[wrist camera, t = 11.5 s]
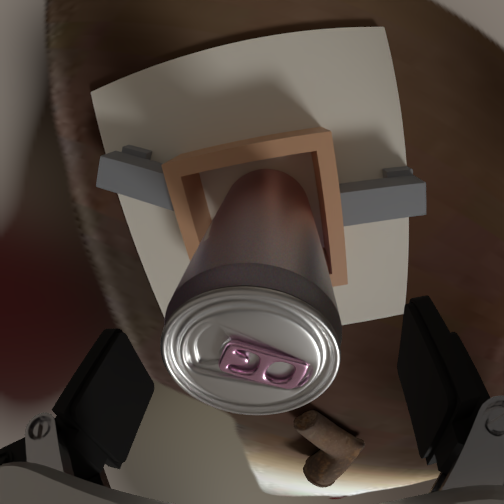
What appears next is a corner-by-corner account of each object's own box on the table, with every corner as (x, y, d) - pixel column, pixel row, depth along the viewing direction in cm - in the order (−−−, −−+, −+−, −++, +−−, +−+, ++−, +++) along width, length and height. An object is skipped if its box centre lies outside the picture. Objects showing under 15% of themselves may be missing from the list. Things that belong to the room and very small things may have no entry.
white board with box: (380, 29, 16) (405, 13, 12) (401, 308, 26) (418, 342, 22) (95, 92, 20) (60, 93, 15) (178, 337, 30) (164, 371, 26)
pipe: (323, 431, 29) (254, 465, 31) (381, 466, 34) (325, 493, 36) (313, 392, 35) (252, 427, 37) (370, 435, 40) (318, 463, 42)
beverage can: (289, 255, 24) (296, 430, 11) (216, 229, 23) (145, 388, 10) (321, 185, 21) (385, 323, 8) (241, 154, 21) (172, 252, 7)
